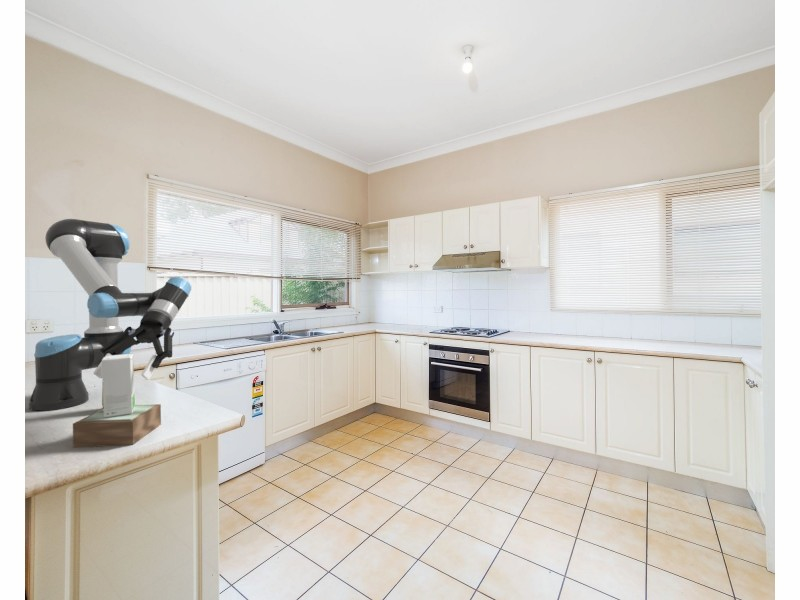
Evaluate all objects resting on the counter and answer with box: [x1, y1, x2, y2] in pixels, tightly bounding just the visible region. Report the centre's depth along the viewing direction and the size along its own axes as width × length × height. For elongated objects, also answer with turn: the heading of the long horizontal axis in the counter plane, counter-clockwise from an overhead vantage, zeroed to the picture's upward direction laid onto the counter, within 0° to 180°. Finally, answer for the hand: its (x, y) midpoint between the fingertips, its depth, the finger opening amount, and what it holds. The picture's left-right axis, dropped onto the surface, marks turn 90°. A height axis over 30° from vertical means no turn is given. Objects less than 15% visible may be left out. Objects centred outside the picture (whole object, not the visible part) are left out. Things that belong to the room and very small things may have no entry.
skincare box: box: [101, 353, 136, 418], centre depth 100 cm, size 8×7×16 cm
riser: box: [72, 403, 162, 448], centre depth 100 cm, size 14×14×6 cm
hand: (121, 376), depth 100 cm, fingers open, 13 cm apart
